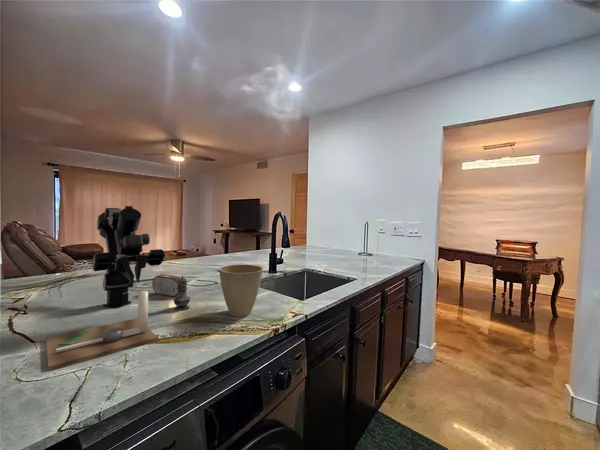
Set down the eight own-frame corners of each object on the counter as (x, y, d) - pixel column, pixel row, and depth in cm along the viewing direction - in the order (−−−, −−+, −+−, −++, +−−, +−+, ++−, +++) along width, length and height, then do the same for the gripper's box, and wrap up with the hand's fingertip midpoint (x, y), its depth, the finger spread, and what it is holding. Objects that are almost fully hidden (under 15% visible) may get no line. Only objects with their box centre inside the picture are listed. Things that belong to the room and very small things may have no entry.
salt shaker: (183, 311, 95) (184, 277, 94) (169, 310, 96) (169, 276, 96) (193, 306, 100) (194, 274, 100) (179, 304, 102) (180, 273, 101)
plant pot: (210, 312, 95) (211, 267, 94) (245, 303, 106) (246, 263, 105) (234, 325, 85) (235, 274, 84) (270, 313, 96) (271, 269, 95)
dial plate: (138, 320, 86) (139, 317, 86) (157, 340, 73) (157, 336, 73) (45, 341, 70) (45, 336, 70) (48, 371, 58) (48, 365, 58)
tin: (184, 296, 112) (185, 276, 112) (179, 298, 109) (179, 278, 109) (156, 292, 117) (157, 272, 117) (150, 294, 114) (150, 274, 114)
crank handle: (145, 327, 78) (145, 289, 78) (149, 332, 75) (150, 293, 74) (55, 348, 65) (55, 303, 64) (56, 355, 61) (57, 308, 61)
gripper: (94, 225, 78) (100, 269, 70) (163, 225, 91) (175, 262, 83) (90, 249, 83) (95, 292, 76) (155, 246, 97) (166, 282, 89)
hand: (135, 281), depth 81 cm, fingers closed
